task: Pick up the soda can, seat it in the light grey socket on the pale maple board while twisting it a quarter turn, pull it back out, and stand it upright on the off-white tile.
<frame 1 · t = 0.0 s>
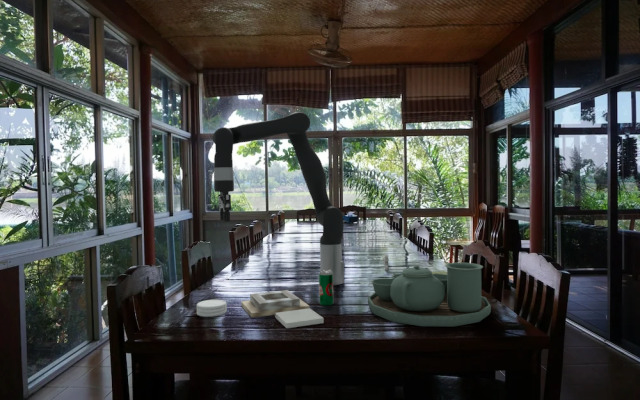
hand: (225, 220, 172), 29 cm above the table, tool pointing down, fingers open, 8 cm apart
white ribbed disc: (211, 313, 149), on the table
washcloth: (431, 281, 192), on the table
tea set: (426, 310, 149), on the table
soda can: (326, 305, 156), on the table
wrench: (385, 267, 225), on the table
socket board: (274, 307, 153), on the table
tile: (298, 320, 139), on the table
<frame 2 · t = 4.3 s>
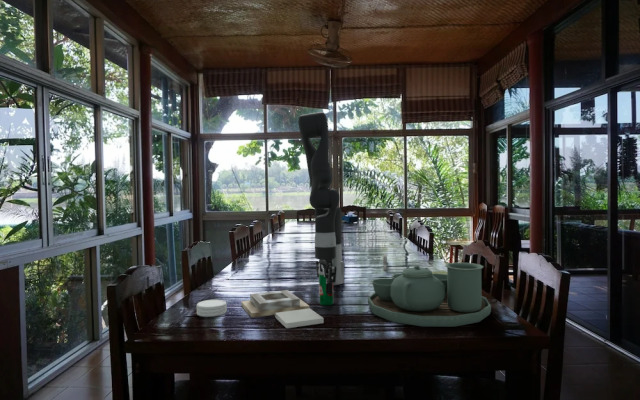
hand: (326, 292, 156), 4 cm above the table, tool pointing down, fingers closed on soda can, 5 cm apart
soda can: (326, 304, 156), on the table, touching gripper
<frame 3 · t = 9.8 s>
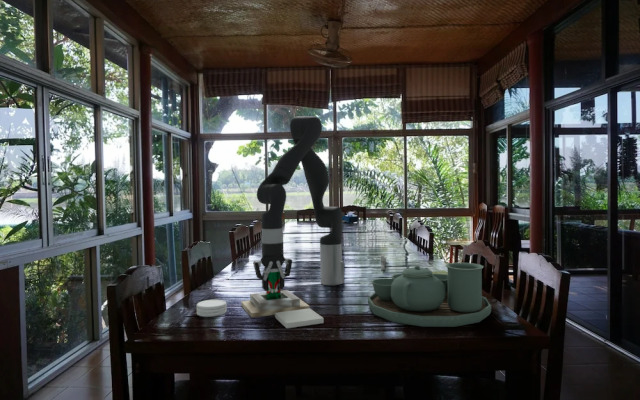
hand: (273, 289, 153), 6 cm above the table, tool pointing down, fingers closed on soda can, 5 cm apart
soda can: (273, 302, 153), point 2 cm above the table, touching gripper
when the fingers open (7 cm above the table, at t = 15.3 s): soda can stays where it is, resting on tile.
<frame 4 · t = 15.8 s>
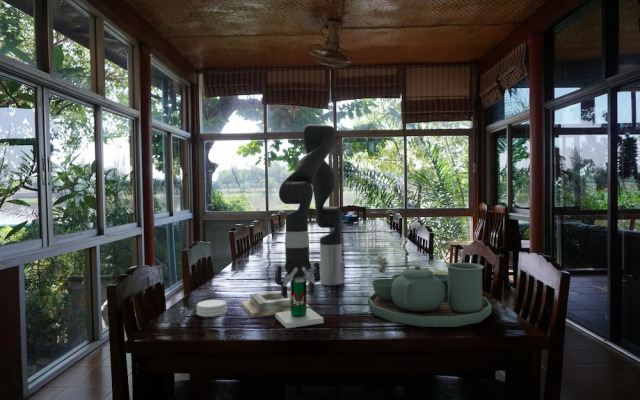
hand: (298, 296, 138), 8 cm above the table, tool pointing down, fingers open, 8 cm apart
soda can: (298, 315, 139), point 1 cm above the table, touching tile
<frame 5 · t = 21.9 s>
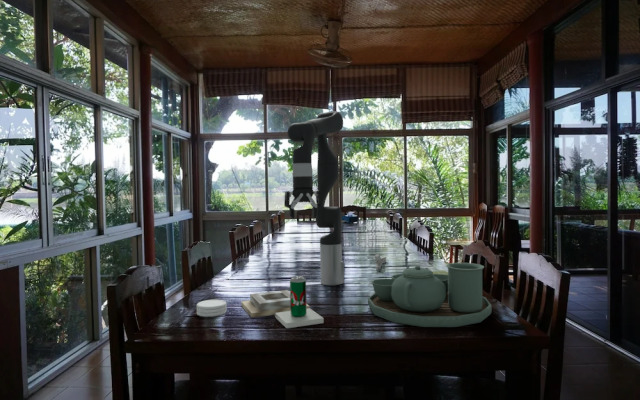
hand: (303, 218, 167), 30 cm above the table, tool pointing down, fingers open, 8 cm apart
at the end: soda can 0.2 cm from the tile (horizontally); soda can tilted 0°; soda can touching tile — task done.
